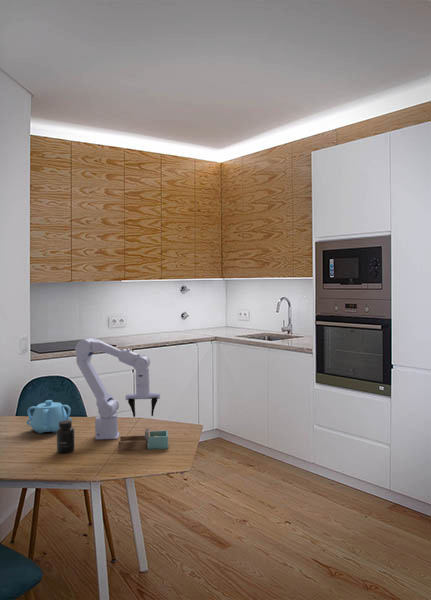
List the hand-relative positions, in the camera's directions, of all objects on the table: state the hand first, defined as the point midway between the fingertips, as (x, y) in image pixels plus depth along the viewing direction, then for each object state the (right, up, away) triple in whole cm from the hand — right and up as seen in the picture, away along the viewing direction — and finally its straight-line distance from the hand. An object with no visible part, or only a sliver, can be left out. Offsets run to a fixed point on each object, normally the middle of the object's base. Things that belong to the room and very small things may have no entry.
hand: (143, 415), depth 222 cm
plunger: (+3, -8, -11) cm, 14 cm away
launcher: (-2, -10, -12) cm, 16 cm away
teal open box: (+8, -10, -11) cm, 17 cm away
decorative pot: (-45, -10, +14) cm, 48 cm away
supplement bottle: (-29, -11, -16) cm, 34 cm away
